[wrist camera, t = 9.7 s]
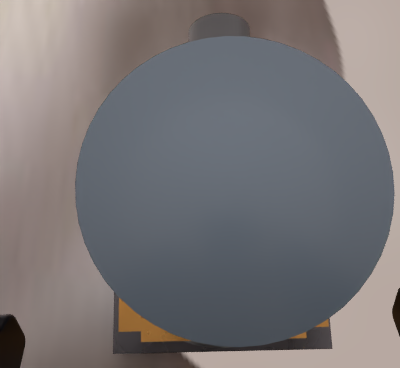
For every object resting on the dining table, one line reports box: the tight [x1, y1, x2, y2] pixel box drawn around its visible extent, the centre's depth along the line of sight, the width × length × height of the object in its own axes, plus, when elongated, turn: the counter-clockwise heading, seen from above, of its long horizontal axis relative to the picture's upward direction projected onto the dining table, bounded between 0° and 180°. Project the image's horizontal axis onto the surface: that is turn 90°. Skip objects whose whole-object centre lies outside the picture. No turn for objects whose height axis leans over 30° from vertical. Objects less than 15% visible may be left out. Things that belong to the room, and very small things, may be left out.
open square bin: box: [113, 292, 332, 354], centre depth 18 cm, size 11×11×6 cm
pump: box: [75, 13, 394, 347], centre depth 11 cm, size 6×4×12 cm
